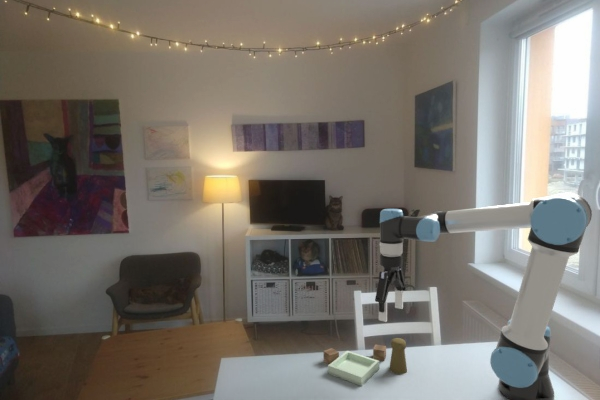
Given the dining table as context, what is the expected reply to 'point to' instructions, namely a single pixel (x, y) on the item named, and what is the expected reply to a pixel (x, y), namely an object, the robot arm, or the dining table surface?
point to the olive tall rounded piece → (398, 356)
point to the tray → (353, 367)
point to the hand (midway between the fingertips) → (391, 314)
